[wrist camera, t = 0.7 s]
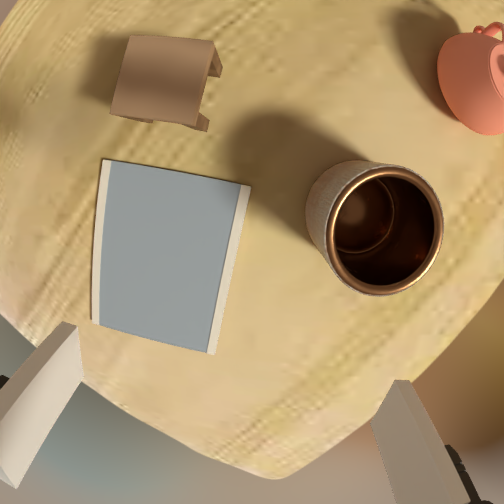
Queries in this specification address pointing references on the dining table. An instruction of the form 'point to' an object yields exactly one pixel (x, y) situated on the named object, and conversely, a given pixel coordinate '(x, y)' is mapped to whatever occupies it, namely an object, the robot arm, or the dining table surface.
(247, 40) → the dining table surface
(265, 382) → the dining table surface
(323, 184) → the planter
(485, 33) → the sugar bowl
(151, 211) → the rug
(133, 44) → the stool
